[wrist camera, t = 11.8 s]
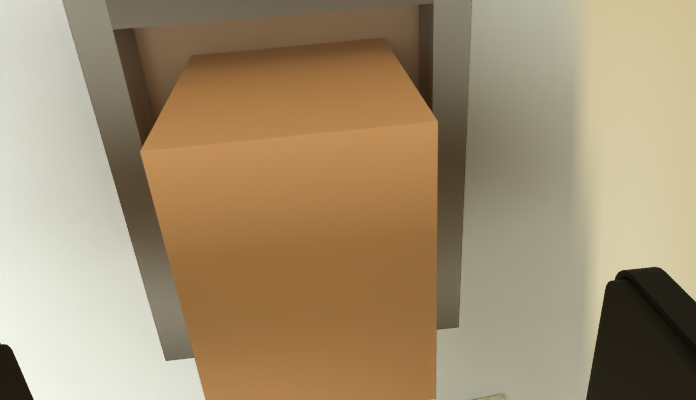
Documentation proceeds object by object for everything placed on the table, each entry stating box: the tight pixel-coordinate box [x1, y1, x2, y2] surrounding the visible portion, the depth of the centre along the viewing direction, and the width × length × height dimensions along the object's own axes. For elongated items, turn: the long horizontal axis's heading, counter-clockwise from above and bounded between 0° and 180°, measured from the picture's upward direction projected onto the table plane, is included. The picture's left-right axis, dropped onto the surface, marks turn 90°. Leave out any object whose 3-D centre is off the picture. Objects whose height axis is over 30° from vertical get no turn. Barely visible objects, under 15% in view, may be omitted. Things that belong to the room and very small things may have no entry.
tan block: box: [140, 38, 438, 400], centre depth 13 cm, size 6×4×6 cm
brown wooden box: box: [62, 0, 472, 361], centre depth 16 cm, size 10×8×4 cm
